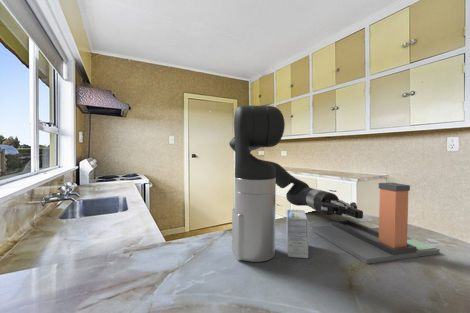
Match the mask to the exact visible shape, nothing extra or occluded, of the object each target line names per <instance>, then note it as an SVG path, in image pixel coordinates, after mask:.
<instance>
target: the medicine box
mask: <svg viewBox="0 0 470 313" xmlns="http://www.w3.org/2000/svg"><path fill="white" fill-rule="evenodd" d="M286 247H287V249H286V250H287V257H288V258H289V257H290V258H297V259H299V258H300V259H308V258H309V219H308V216H307V215H306V211H305V210H302V209H287V210H286Z"/></svg>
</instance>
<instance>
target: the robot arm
mask: <svg viewBox="0 0 470 313" xmlns="http://www.w3.org/2000/svg"><path fill="white" fill-rule="evenodd" d="M285 125H286V124H285V118H284V114H283V112H282V111H281V110H280V109H279V108H278V107H276V106H272V105H239V106H237V108H236V109H235V111H234V116H233V132H234V133H233V134H234V135H233V136H234V137H232V138H231V140H230V141H229V147H230V149H231V150H233V151H234V155H235V156H234V158H235V159H234V208H232V213H231V216H232V217H231V218H232V219H231V222H232V224H231V226H232V227H231V231H232V232H231V238H232V240H231V249H232V250H233V253H234V255H235V258H236V259H237V260H238V261H245V262H250V263H251V262H252V263H261V262H265V261H269V260H272V259H273V258H274V257H275V254H276V188H277V187H276V186H278V187H279V188H280V189H285V188H287V187H288V186H289V185H291V184H293V185H292V186H291V187H290V188H289V189H288V191H287V192H286V195H285V196H286V200H287V201H288V202H289V203H290V204H292V205H294V206H297V207H298V206H301V207H303V206H307V207H310V208H311V209H313V210H314V211H316V212H319V213H321V214H324V215H326V216H331V215H332V216H333V215H336V216H346V217H351V218H355V219H358V220H359V219H360V220H361V219H363V218H364V212H363V210H361V209H358V205H357V203H356V202H350V204H349V203H348V202H346V201H344V200H342V199H340V198H339V197H338V195H336V194H335V193H333V192H329V191H325V190H322V189H316V188H313V187H310V186H309V184H307V183H306V181H305V182H304V181H303V180H301V179H299V178H296V177H295V176H294V175H292V174H291V173H289V172H288V171H287V170H286V169H285V168H284V167H283V166H282V165H280V164H279V163H278V162H274V161H271V160H265V159H264V160H262V159H260V158H257V157H256V156H254V155H253V154H252V153H251V152H252V151H255V150H258V149H261V148H273V147H276V146H277V145H278V144H279V143H280V141H281V140H282V138H283V135H284V133H285V127H286V126H285Z"/></svg>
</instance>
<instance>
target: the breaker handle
mask: <svg viewBox="0 0 470 313" xmlns="http://www.w3.org/2000/svg"><path fill="white" fill-rule="evenodd" d="M378 189H379V201H378V202H379V205H378V208H379V209H378V211H379V212H378V226H379V241H380V242H382V243H384V244H386V245H388V246H390V247H393V248H401V247H407V237H408V225H409V224H408V223H409V222H408V220H409V217H408V216H409V192H410V191H411V185H410V184H403V183H397V182H378Z"/></svg>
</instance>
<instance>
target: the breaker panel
mask: <svg viewBox="0 0 470 313" xmlns="http://www.w3.org/2000/svg"><path fill="white" fill-rule="evenodd" d="M310 228H311V231H312V232H314V233H315V234H318V235H319V236H321V237H322V238H324V239H325V240H326V241H328V242H330V243H332V244H334V245H335V246H336V247H339V248H340V249H342V250H344V251H345V252H347V253H348V254H349V255H351V256H353V257H354V258H356V259H357V260H360V262H363V263H364V264H373V263H374V264H377V263H383V262H389V261H397V260H402V259H403V260H404V259H410V258H418V257H425V256H432V255H434V256H435V255H439V254H440V252H441V250H440V248H437V247H434V246H432V245H429V244H426V243H425V242H421V241H419V240H417V239H414V238H412V237H408V236H407V247H401V248H393V247H390V246H388V245H386V244H384V243H382V242H380V241H379V224H375V223H372V222H370V221H361V222H360V221H359V222H357V221H355V220H352V219H338V220H331V223H330V224H326V225H316V226H315V225H314V226H311V227H310Z"/></svg>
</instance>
